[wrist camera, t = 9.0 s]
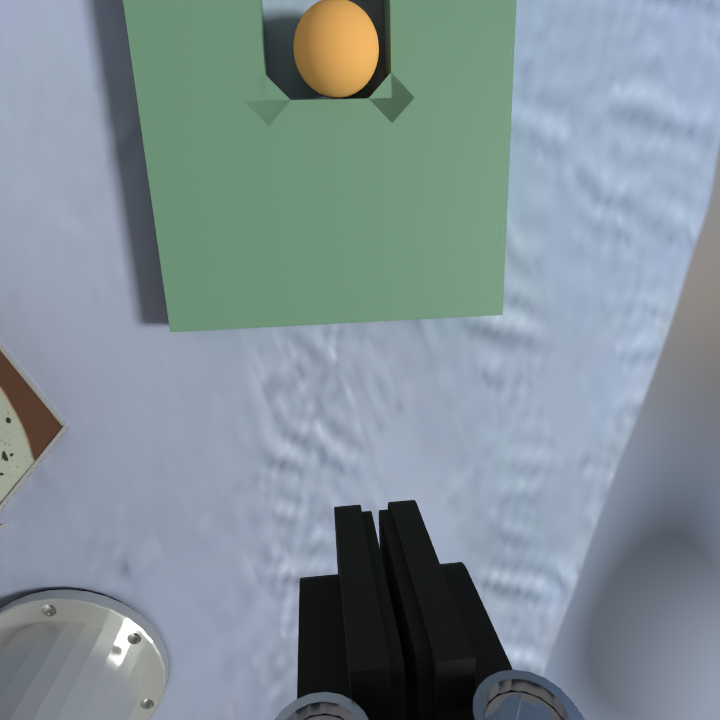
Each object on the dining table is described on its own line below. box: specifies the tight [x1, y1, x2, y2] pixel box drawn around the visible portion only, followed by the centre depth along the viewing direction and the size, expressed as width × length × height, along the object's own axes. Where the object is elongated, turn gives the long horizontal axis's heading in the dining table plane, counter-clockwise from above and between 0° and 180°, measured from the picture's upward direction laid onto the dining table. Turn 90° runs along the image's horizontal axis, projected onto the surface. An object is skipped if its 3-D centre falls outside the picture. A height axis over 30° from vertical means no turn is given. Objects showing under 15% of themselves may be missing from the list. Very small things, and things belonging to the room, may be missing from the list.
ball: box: [293, 0, 379, 98], centre depth 24 cm, size 4×4×4 cm
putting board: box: [123, 0, 516, 332], centre depth 26 cm, size 20×18×2 cm
